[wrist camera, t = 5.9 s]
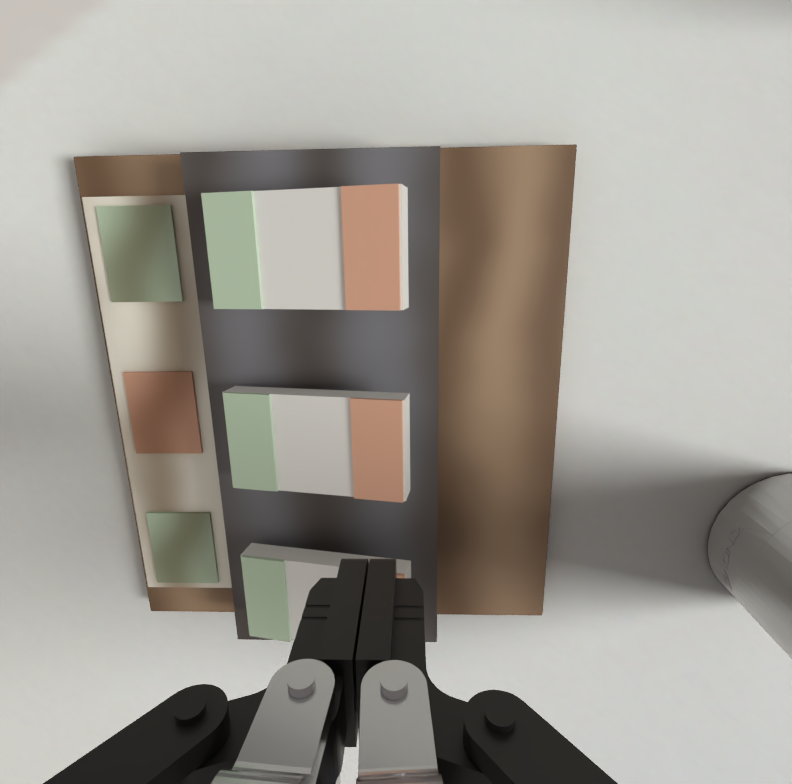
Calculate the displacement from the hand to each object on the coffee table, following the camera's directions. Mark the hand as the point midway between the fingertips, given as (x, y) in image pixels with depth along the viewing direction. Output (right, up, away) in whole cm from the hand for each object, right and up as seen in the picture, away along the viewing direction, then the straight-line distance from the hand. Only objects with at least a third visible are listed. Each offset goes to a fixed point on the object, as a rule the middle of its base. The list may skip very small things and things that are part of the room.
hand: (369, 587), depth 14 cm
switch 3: (-3, -6, +13) cm, 15 cm away
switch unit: (-3, +5, +17) cm, 18 cm away
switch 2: (-3, +3, +11) cm, 12 cm away
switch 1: (-3, +12, +9) cm, 15 cm away
